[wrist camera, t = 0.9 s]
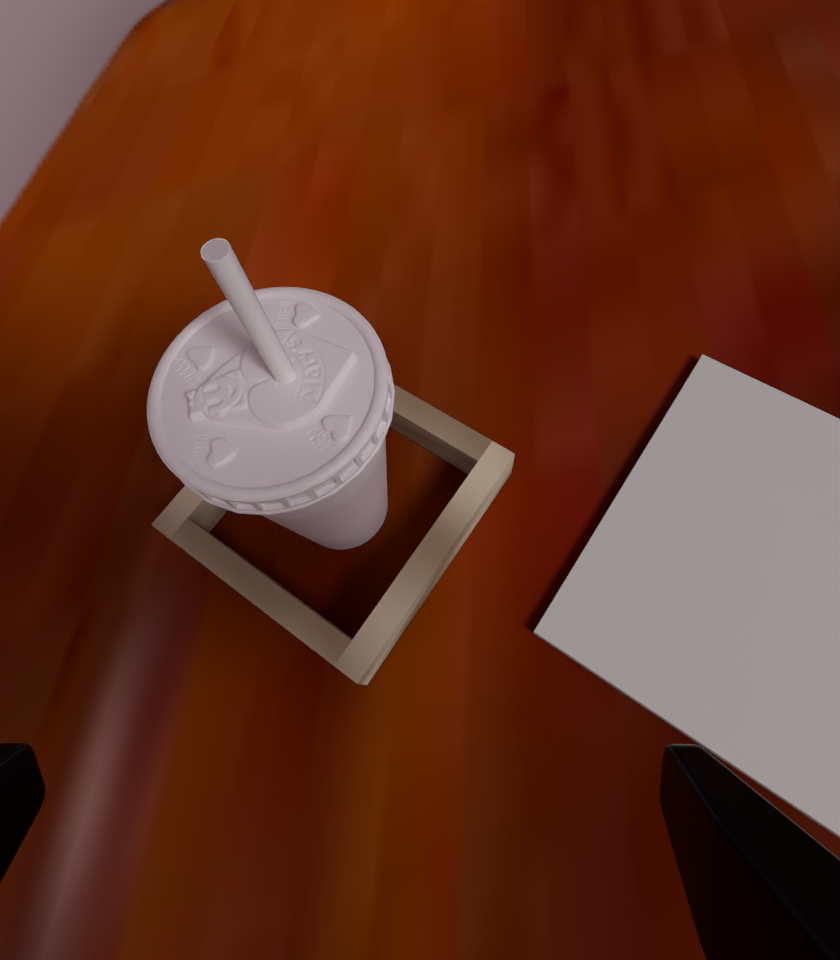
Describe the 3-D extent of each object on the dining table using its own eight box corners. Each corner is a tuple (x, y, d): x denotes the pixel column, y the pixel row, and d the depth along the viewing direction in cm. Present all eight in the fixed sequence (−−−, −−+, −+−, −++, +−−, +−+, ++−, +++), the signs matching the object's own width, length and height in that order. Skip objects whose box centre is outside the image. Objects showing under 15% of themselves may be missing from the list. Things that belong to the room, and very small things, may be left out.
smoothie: (441, 553, 22) (405, 345, 9) (285, 605, 22) (18, 467, 9) (394, 417, 24) (313, 98, 11) (253, 463, 24) (6, 188, 11)
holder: (367, 685, 20) (357, 683, 19) (176, 538, 23) (150, 524, 21) (510, 473, 23) (514, 453, 21) (324, 363, 26) (313, 337, 24)
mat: (934, 901, 17) (944, 905, 17) (532, 632, 21) (533, 631, 20) (1060, 531, 21) (1071, 528, 20) (699, 359, 24) (702, 354, 24)
